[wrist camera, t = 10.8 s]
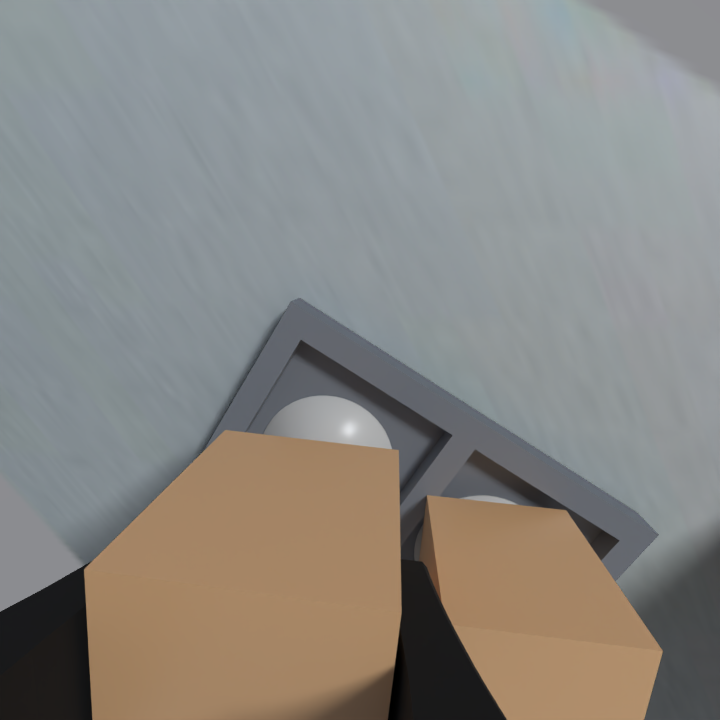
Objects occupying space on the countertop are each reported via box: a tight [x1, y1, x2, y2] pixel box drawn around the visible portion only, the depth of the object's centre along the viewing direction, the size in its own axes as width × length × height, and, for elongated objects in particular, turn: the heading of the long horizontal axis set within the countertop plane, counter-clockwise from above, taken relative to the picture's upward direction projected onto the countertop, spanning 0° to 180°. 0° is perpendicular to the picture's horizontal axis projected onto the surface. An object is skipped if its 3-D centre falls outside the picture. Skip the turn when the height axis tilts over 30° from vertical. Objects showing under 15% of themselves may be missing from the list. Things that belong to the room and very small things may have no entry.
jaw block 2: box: [419, 495, 663, 720], centre depth 12 cm, size 4×4×5 cm
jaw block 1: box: [84, 430, 402, 720], centre depth 9 cm, size 4×4×5 cm
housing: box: [204, 298, 658, 581], centre depth 15 cm, size 13×8×1 cm, turn 58°
